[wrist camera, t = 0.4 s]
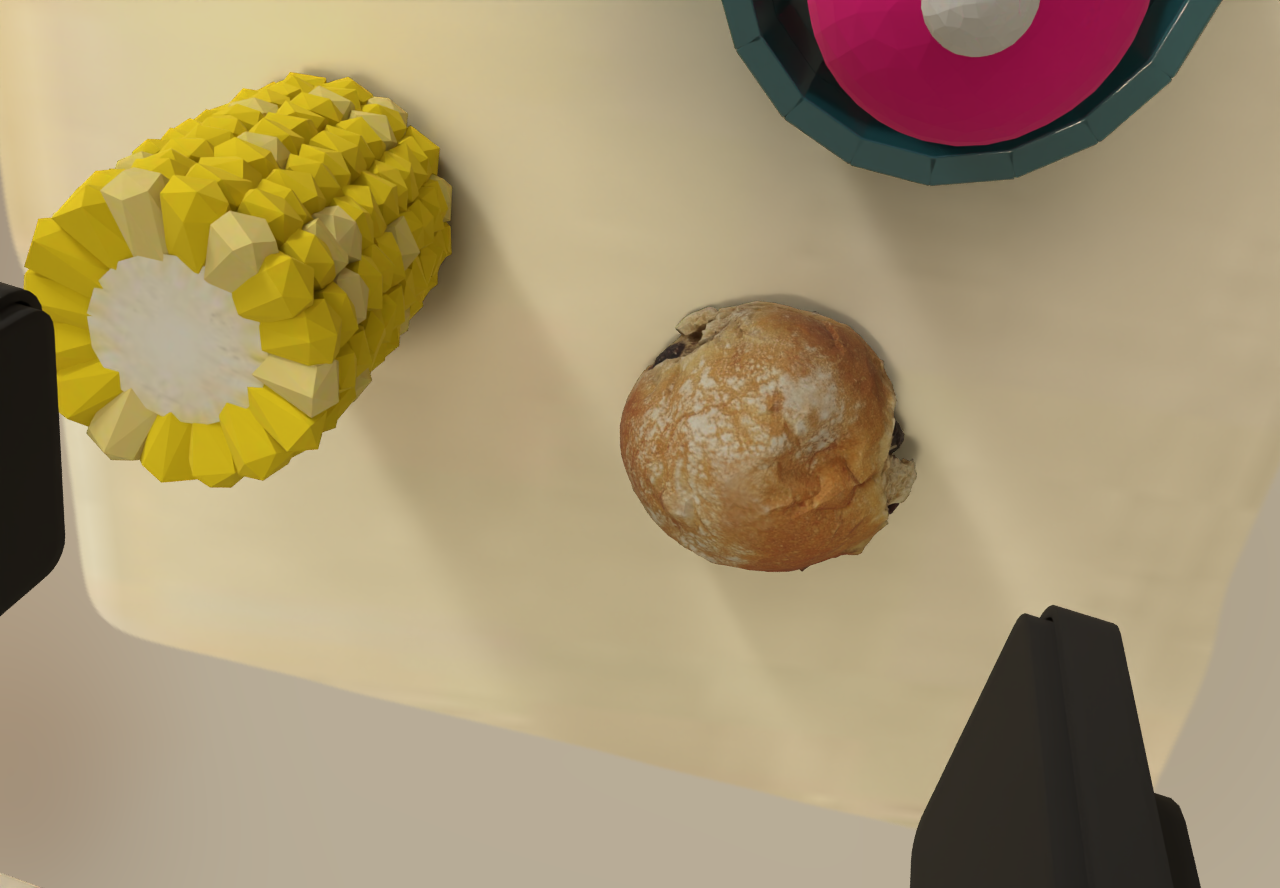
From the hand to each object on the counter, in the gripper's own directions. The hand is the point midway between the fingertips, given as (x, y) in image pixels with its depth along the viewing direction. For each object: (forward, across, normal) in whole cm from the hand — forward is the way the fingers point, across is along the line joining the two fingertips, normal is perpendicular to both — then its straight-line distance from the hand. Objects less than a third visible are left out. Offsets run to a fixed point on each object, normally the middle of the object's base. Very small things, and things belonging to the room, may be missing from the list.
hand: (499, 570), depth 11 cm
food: (+31, +15, +10) cm, 36 cm away
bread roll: (+31, -2, +14) cm, 34 cm away
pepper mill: (+31, -3, -4) cm, 31 cm away
